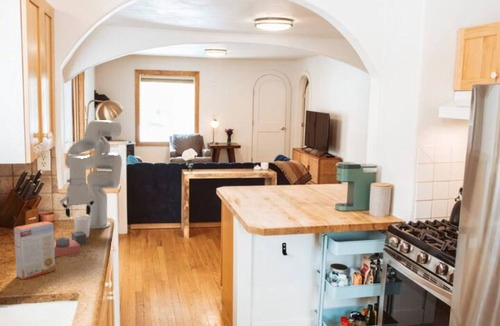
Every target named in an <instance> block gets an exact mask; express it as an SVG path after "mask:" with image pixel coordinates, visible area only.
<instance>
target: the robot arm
mask: <svg viewBox="0 0 500 326" xmlns="http://www.w3.org/2000/svg"><path fill="white" fill-rule="evenodd" d="M121 133H122V125H121V123H120V122H119V121H113V120H103V119H102V120H100V119H96V120H95V119H93V120H91V121H89V122H88V124H87V126H86V129H85V131H84V133H83V134H84V135H83V137H82V138H81V139H79V140H78V141H76V142H75V143H73V144H72V145H71V146H70V147H69V149H68V151H67V153H66V154H65V161H64V164H65V166H66V168H68V169H69V178H68V179H66V183H68V185H67V191H66V196H65V197H63V198H61V199H59V203H60V204H61V206H62V207H63V208H64V209H65V216H66V217H67V218H70V217H71V209H70V207H72V206H79V205H80V206H81V205H85V211H86V212H85V214H86V215H88V216H89V217H90V230H91V229H93V230H94V229H95V230H99V229H101V228H102V229H107V228H109V227H110V226H111V223H110V222H109V221H108V195H107V193H106V191H105V189H117V188H118V187H119V185H120V181H121V174H122V166H123V165H122V164H123V159H122V156H121V154H119V153H117V152H111V151H110V150H111V144H110V142H109V141H108V139H107V138H106V137H119V136H120V135H121ZM92 150H93V155H92V154H83V153H85V152H88V151H92ZM93 168H94V169H96V170H92V171H90V172H88V174H87V170H91V169H93ZM108 170H109V171H108ZM65 201H66V203H65ZM106 227H107V228H106Z"/></svg>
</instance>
